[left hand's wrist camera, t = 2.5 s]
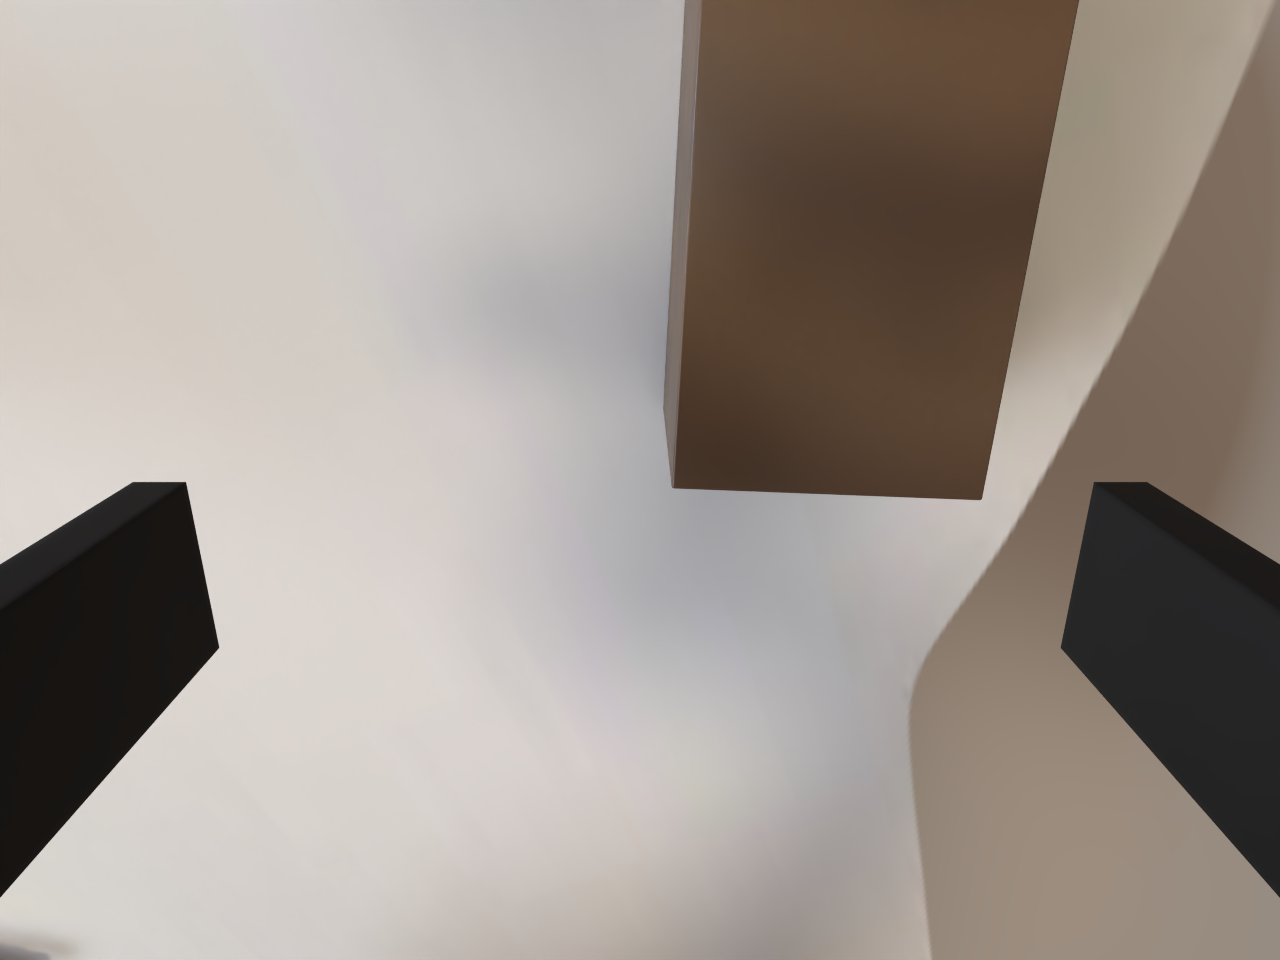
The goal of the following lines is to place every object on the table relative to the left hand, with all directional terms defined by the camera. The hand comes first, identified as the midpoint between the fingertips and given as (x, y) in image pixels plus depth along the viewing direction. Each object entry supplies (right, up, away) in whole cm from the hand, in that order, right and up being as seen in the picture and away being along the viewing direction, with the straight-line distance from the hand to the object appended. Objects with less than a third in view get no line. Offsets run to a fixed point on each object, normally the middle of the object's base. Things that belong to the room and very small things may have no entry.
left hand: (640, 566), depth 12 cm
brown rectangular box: (+6, +13, +20) cm, 25 cm away
